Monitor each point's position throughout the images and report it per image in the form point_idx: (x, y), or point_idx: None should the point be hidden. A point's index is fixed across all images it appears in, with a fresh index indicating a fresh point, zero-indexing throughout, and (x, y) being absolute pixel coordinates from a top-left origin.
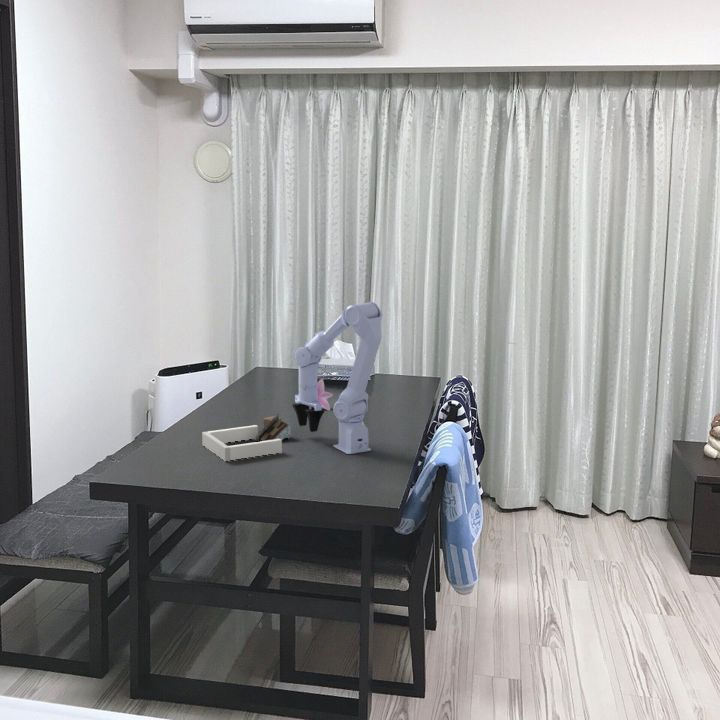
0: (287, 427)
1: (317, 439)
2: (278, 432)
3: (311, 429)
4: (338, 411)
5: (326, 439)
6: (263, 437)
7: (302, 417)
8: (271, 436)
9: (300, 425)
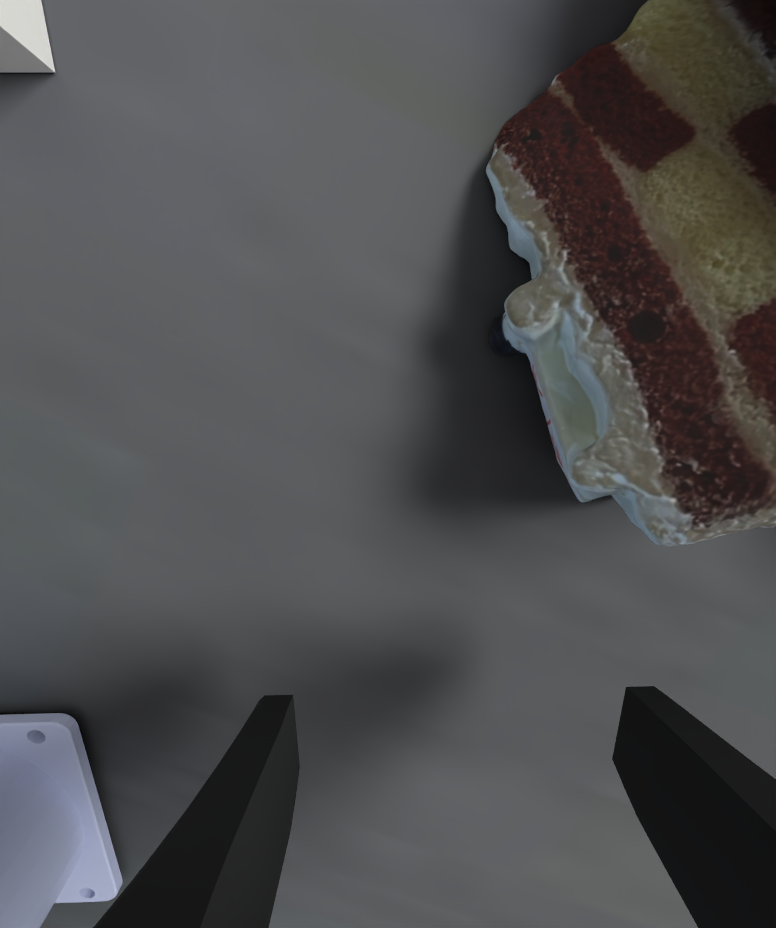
0: (638, 478)
1: (384, 689)
2: (623, 292)
3: (245, 732)
4: None
5: (344, 750)
6: (688, 28)
7: (728, 868)
8: (615, 162)
9: (631, 696)
